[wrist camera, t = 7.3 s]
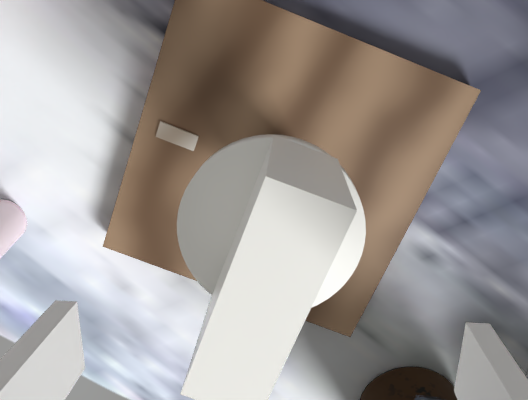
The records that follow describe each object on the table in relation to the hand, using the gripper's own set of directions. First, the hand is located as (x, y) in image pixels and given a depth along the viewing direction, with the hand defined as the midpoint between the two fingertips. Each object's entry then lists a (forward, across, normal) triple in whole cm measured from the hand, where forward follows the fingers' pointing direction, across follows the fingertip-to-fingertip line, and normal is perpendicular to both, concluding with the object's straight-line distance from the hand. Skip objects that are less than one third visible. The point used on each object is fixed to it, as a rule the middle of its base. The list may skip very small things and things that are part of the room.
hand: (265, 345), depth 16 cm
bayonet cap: (+11, 0, 0) cm, 11 cm away
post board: (+23, -1, 0) cm, 23 cm away
